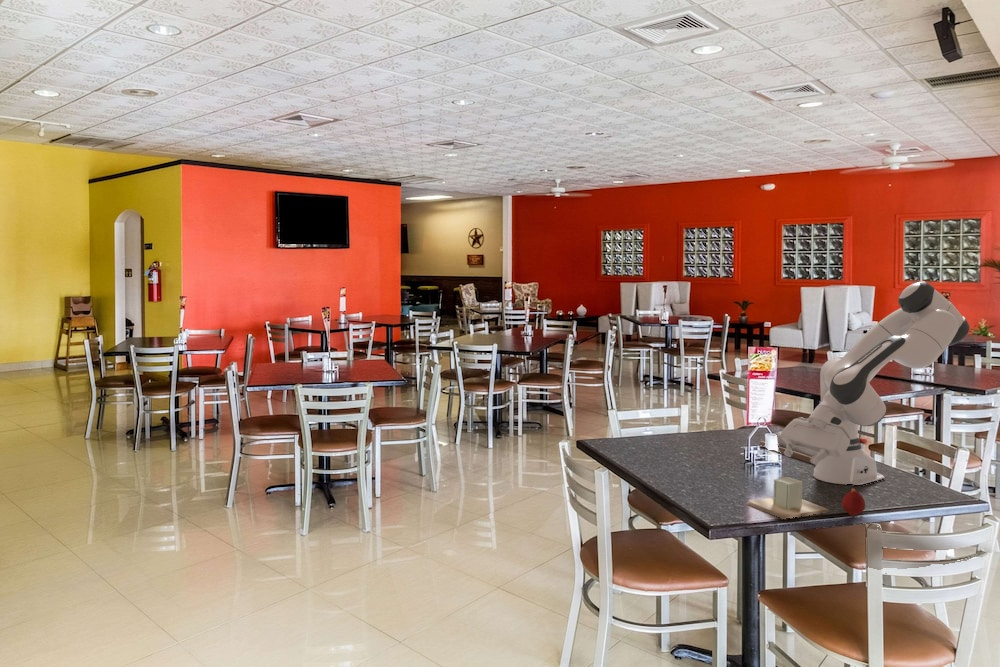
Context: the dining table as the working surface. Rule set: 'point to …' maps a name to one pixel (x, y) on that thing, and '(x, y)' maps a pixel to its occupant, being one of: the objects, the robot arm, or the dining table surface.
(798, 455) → the tube rack
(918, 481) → the dining table surface
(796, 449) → the tube
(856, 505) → the onion
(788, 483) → the slotted sage cube
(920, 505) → the dining table surface
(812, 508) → the post board
